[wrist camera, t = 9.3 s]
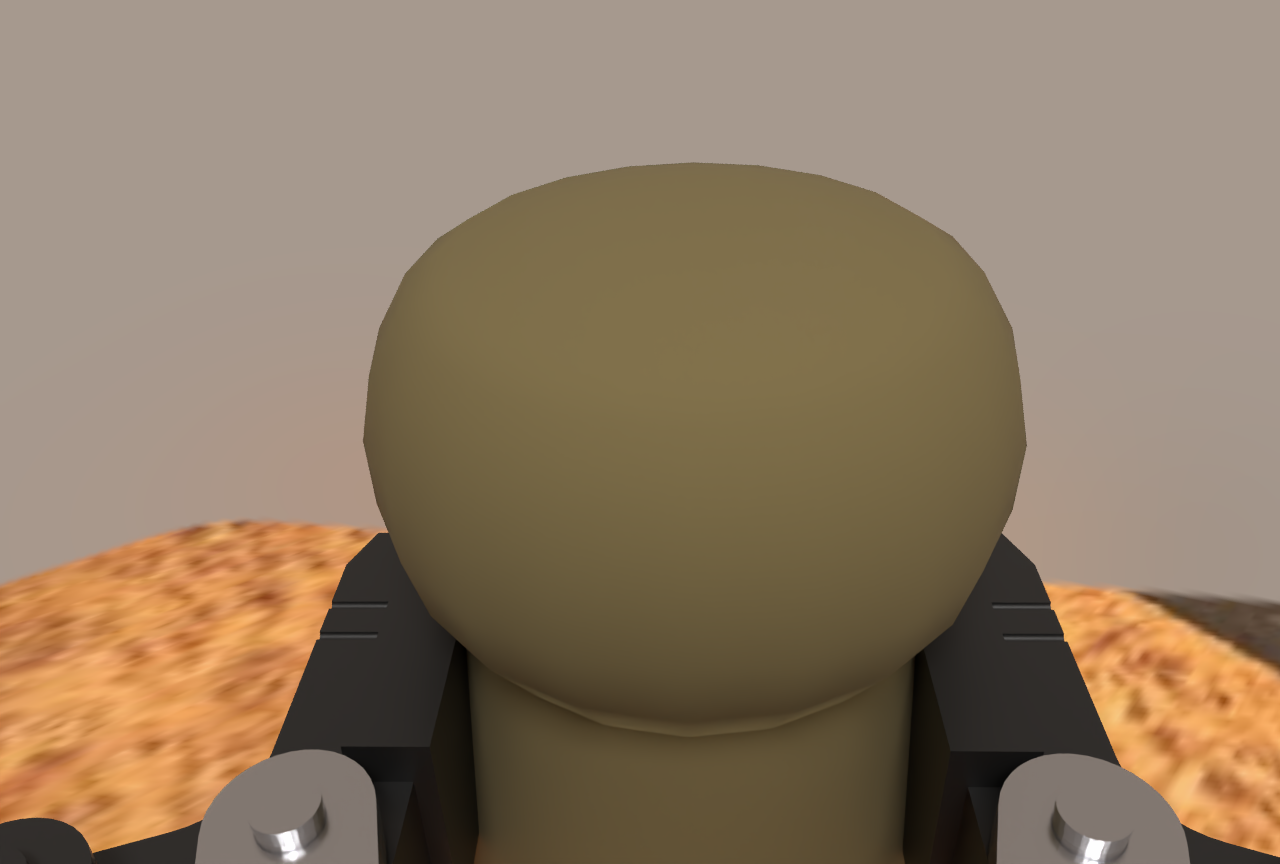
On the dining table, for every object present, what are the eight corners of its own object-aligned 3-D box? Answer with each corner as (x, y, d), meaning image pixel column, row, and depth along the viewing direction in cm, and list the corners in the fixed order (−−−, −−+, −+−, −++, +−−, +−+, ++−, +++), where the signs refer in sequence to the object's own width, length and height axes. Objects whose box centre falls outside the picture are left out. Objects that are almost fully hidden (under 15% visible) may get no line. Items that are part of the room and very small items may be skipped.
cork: (573, 781, 17) (508, 76, 11) (962, 897, 15) (1135, 127, 9) (359, 1180, 13) (54, 337, 7) (885, 1423, 11) (1128, 543, 5)
